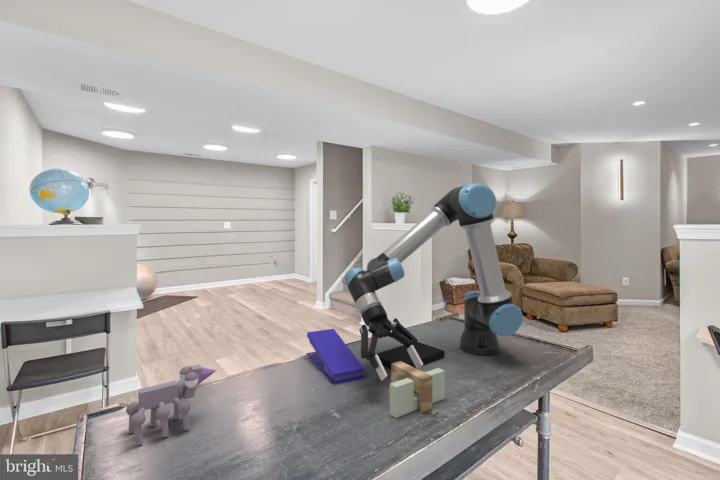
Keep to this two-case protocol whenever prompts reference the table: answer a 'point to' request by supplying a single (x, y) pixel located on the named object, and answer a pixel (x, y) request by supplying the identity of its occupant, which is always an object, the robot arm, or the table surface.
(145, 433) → the table surface
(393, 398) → the green u-shaped block
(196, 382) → the grey toy animal figure
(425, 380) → the tan wooden block
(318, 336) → the blue foot pedal
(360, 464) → the table surface
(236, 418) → the table surface
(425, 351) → the external hard drive
